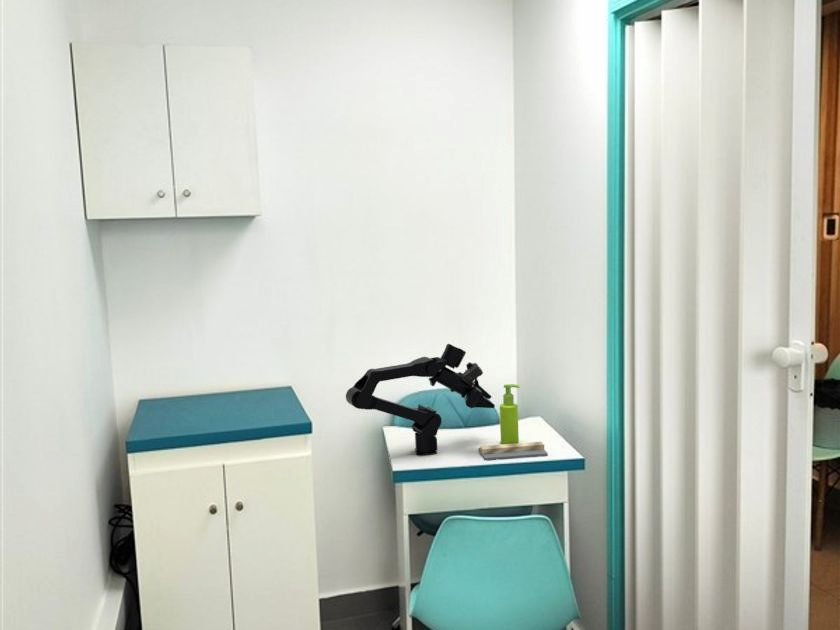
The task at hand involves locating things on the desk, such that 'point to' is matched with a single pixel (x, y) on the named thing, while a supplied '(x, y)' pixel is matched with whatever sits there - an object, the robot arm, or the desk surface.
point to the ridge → (512, 448)
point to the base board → (514, 455)
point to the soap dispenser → (509, 417)
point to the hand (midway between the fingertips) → (492, 402)
